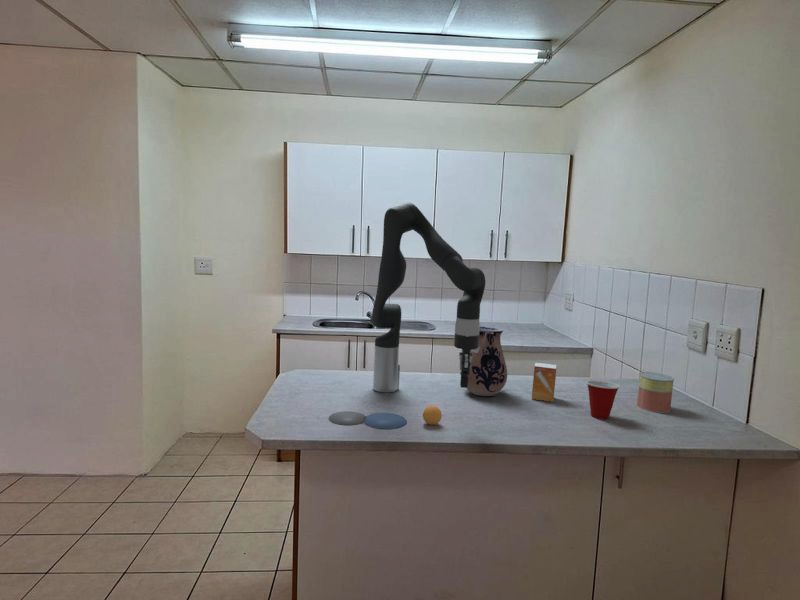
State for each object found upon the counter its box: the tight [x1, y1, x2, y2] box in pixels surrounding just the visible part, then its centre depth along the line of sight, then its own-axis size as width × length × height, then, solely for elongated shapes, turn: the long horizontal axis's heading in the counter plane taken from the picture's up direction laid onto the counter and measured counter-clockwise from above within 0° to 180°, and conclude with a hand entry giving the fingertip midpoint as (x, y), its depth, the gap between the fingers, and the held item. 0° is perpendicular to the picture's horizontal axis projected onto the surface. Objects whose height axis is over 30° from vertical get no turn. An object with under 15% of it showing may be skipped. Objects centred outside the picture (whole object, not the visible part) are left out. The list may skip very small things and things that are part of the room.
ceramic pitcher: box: [466, 325, 508, 397], centre depth 200 cm, size 18×21×25 cm
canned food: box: [636, 371, 675, 414], centre depth 190 cm, size 11×11×12 cm
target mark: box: [363, 412, 408, 430], centre depth 165 cm, size 14×14×1 cm
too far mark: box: [328, 410, 367, 426], centre depth 166 cm, size 12×12×1 cm
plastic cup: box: [586, 380, 621, 420], centre depth 178 cm, size 11×11×12 cm
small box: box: [531, 362, 558, 403], centre depth 195 cm, size 8×6×13 cm
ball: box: [422, 405, 443, 426], centre depth 164 cm, size 6×6×6 cm
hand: (463, 386), depth 162 cm, fingers closed
